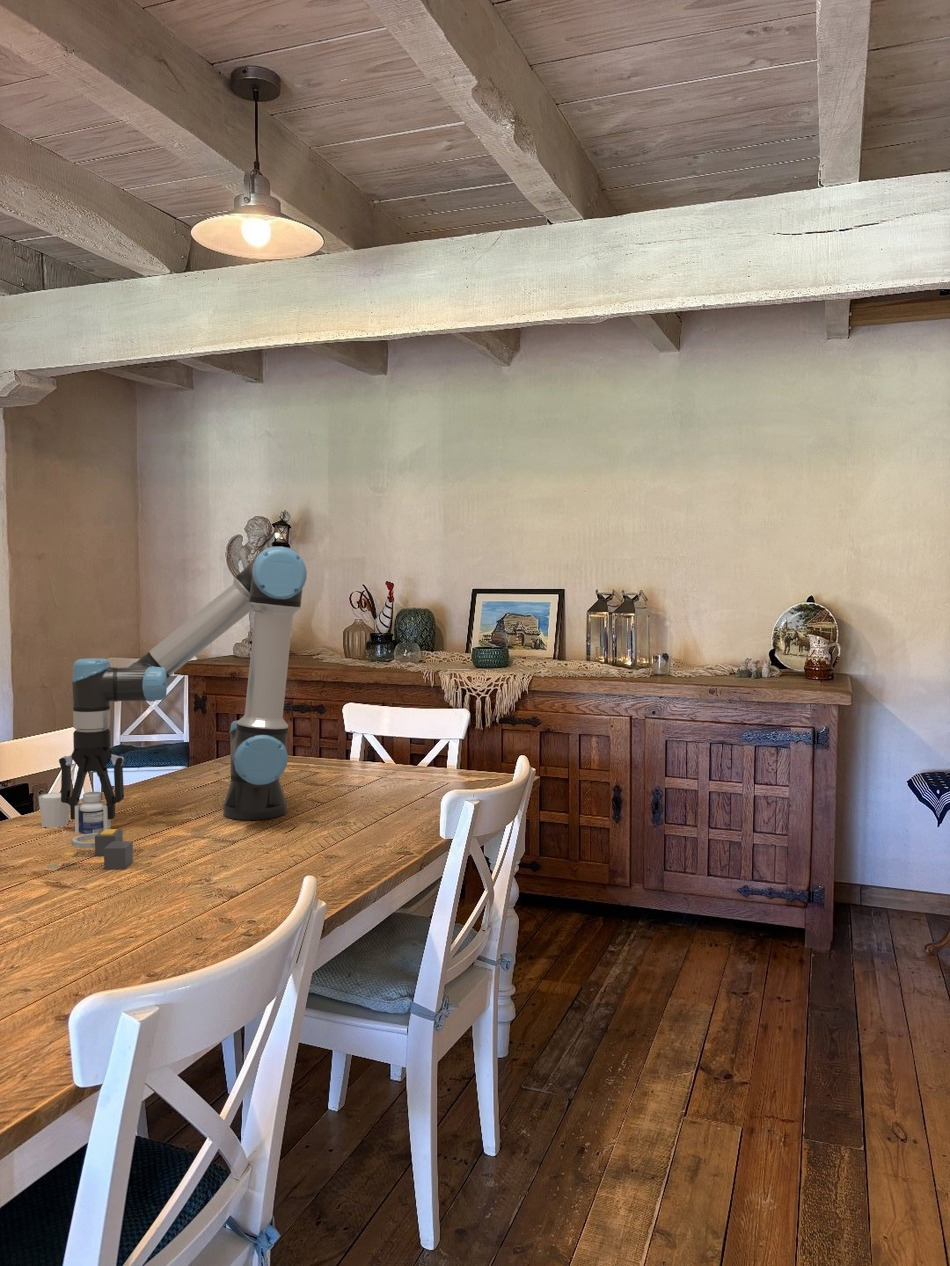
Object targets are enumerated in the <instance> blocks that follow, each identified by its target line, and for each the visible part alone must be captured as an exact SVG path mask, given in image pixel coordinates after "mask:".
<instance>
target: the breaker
mask: <svg viewBox="0 0 950 1266" xmlns="http://www.w3.org/2000/svg"><path fill="white" fill-rule="evenodd" d="M133 842H134V841H133V840H132V841H130V840H129V841H128V840H123V841H112V842H111V843H110V844H108V845H107V846H106V847H105V848H104V857H103V863H104V866H103V867H104V869H106V870H109V869H113V870H115V869H119V870H120V869H121V870H127V868H129V866H130V865H131V864H132V863H133V862H134V856H133V852H134V851H133V850H134V847H133V846H134V843H133Z"/></svg>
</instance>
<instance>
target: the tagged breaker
mask: <svg viewBox="0 0 950 1266" xmlns="http://www.w3.org/2000/svg"><path fill="white" fill-rule="evenodd" d="M123 837H124V836H123V829H117V828H111V829H105V830H102V831H101V832H99V833H98V834H97V835H96V836H95V839H94V842H95V848H94V853H95V854H94V855H95V856H96V857H97V856H104V848H105V847H106V846H107V845H108V844H110V843H111V842H112V841H124V838H123Z"/></svg>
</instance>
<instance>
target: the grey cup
mask: <svg viewBox="0 0 950 1266" xmlns="http://www.w3.org/2000/svg"><path fill="white" fill-rule="evenodd" d="M71 795H72V793H70V797H71ZM37 797H38V805H39V814H40V823H41V827H42V826H44V827H60V828H62V827H61V826H65V825H67V824H68V825H69V821H70V805H69V804H67V803H62V802H61V792H51V793H49V792H48V793H43V794H41V795H38V796H37ZM68 825H67V826H68ZM65 827H66V826H65Z"/></svg>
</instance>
